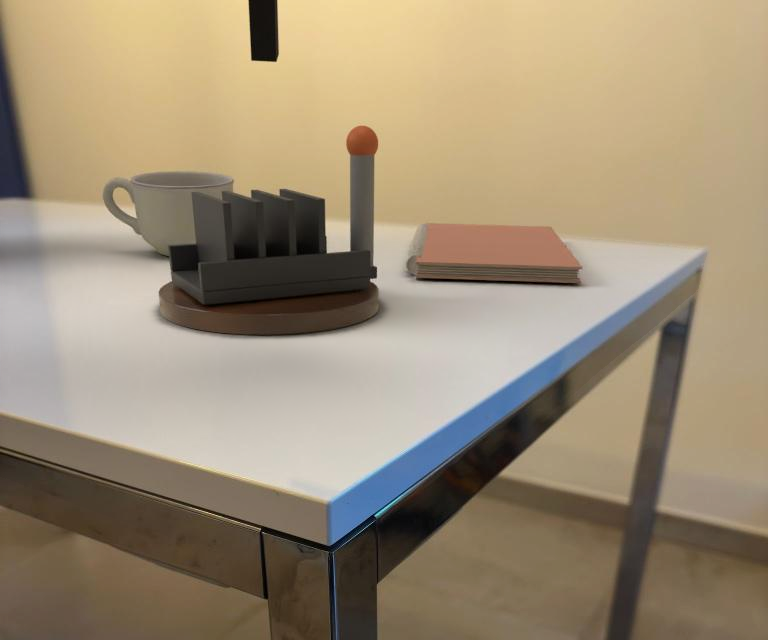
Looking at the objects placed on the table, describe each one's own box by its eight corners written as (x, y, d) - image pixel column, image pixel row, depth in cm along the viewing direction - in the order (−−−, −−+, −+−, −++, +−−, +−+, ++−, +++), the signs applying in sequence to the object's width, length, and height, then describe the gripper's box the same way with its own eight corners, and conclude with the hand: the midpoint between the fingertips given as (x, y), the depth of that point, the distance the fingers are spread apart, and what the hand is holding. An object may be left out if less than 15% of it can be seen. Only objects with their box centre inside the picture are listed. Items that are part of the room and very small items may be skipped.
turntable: (112, 311, 63) (110, 292, 62) (261, 276, 76) (260, 260, 76) (285, 348, 54) (284, 327, 54) (418, 301, 68) (419, 284, 67)
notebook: (416, 237, 100) (416, 220, 99) (549, 241, 99) (551, 224, 98) (404, 279, 76) (405, 258, 75) (579, 285, 75) (582, 264, 74)
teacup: (251, 247, 91) (247, 172, 87) (218, 264, 81) (211, 181, 77) (139, 242, 93) (130, 168, 89) (93, 258, 83) (81, 176, 79)
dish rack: (203, 305, 58) (187, 127, 52) (171, 282, 65) (154, 123, 59) (400, 286, 65) (404, 127, 60) (352, 267, 72) (351, 123, 67)
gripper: (56, -655, 29) (144, 63, 44) (402, -615, 30) (374, 74, 45) (102, -567, 35) (166, 41, 50) (391, -535, 36) (370, 52, 51)
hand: (265, 56), depth 47 cm, fingers closed
